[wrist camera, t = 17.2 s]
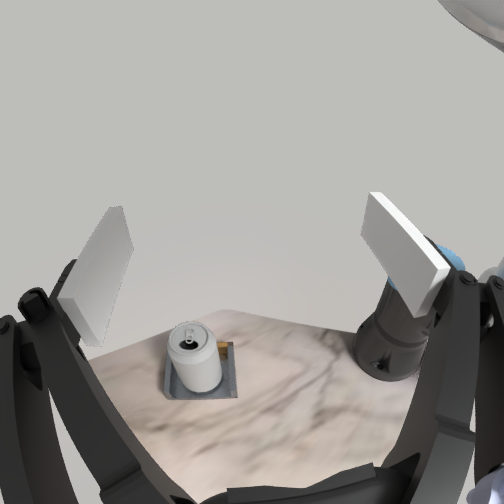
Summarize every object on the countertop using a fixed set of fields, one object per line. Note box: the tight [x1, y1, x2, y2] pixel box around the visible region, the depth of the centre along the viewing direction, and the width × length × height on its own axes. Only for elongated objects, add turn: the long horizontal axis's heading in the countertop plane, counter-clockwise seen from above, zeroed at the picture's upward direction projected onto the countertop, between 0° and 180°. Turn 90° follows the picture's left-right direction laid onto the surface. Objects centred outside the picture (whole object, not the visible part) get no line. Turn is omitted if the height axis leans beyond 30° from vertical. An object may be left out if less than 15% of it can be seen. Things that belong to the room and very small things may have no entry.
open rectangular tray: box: [163, 342, 238, 400], centre depth 46 cm, size 12×10×3 cm
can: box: [167, 321, 222, 392], centre depth 42 cm, size 8×8×12 cm
